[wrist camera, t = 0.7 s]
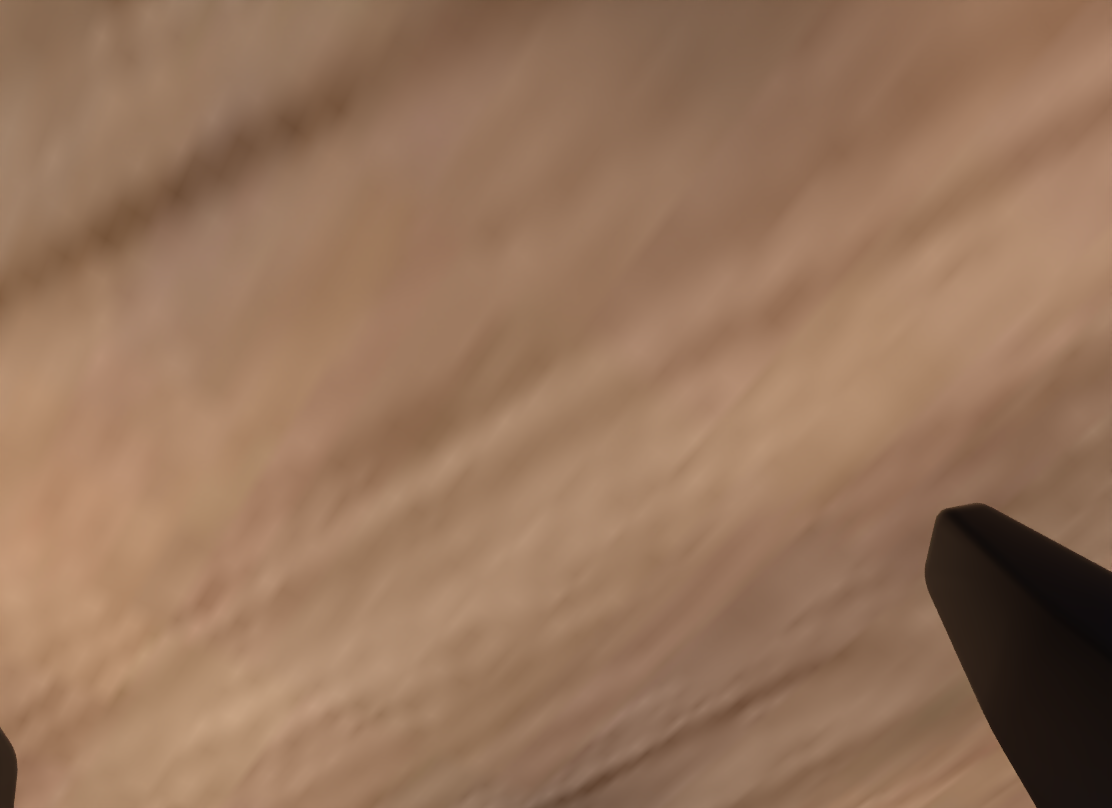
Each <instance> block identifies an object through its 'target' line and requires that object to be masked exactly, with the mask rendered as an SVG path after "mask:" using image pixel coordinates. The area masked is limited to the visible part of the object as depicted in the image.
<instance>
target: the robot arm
mask: <svg viewBox="0 0 1112 808" xmlns="http://www.w3.org/2000/svg"><path fill="white" fill-rule="evenodd" d="M925 580H926V585H927V588H928V591H929V593H930V596H931V598H932V600H933V602H934V605H935V607H936V609H937V611H938V614H939V616H940V618H941V620H942V622H943V625H944V627H945V629H946V631H947V634H948V636H949V638H950V640H951V642H952V645H953V647H954V649H955V651H956V653H957V656H958V658H959V660H960V662H961V665H962V667H963V669H964V671H965V673H966V676H967V678H968V680H969V682H970V685H971V687H972V689H973V691H974V693H975V696H976V698H977V700H978V702H979V704H980V707H981V709H982V711H983V713H984V715H985V717H986V719H987V721H988V723H989V725H990V727H991V729H992V731H993V733H994V735H995V736H996V738H997V740H998V742H999V744H1000V745H1001V747H1002V749H1003V751H1004V753H1005V754H1006V756H1007V758H1008V759H1009V761H1010V763H1011V764H1012V766H1013V768H1014V770H1015V771H1016V773H1017V775H1018V776H1019V778H1020V780H1021V782H1022V783H1023V785H1024V787H1025V788H1026V790H1027V792H1028V793H1029V795H1030V797H1031V799H1032V800H1033V802H1034V804H1035V805H1036V807H1037V808H1112V572H1111V571H1109V570H1107V569H1105V568H1103V567H1101V566H1099V565H1098V564H1096V563H1094V562H1092V561H1090V560H1088V559H1086V558H1085V557H1083V556H1081V555H1079V554H1077V553H1075V552H1074V551H1072V550H1070V549H1068V548H1066V547H1064V546H1062V545H1061V544H1059V543H1057V542H1055V541H1053V540H1051V539H1049V538H1048V537H1046V536H1044V535H1042V534H1040V533H1038V532H1036V531H1035V530H1033V529H1031V528H1029V527H1027V526H1025V525H1023V524H1022V523H1020V522H1018V521H1016V520H1014V519H1012V518H1010V517H1009V516H1007V515H1005V514H1003V513H1001V512H999V511H997V510H996V509H994V508H992V507H990V506H988V505H985V504H981V503H973V504H967V505H962V506H957V507H951V508H946V509H944V510H942V511H941V512H940V513H939V514H938V516H937V517H936V520H935V524H934V528H933V533H932V537H931V542H930V546H929V551H928V555H927V560H926V564H925ZM16 781H17V759H16V754H15V751H14V748H13V746H12V744H11V743H10V741H9V740H8V738H7V737H6V735H5V734H4V732H3V731H2V729H1V728H0V808H14V799H15V790H16Z"/></svg>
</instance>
